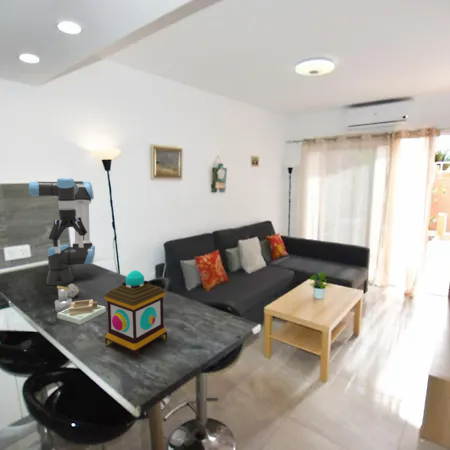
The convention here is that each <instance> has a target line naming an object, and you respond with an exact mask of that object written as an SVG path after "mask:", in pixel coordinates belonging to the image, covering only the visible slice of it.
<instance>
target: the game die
mask: <svg viewBox="0 0 450 450" xmlns="http://www.w3.org/2000/svg"><path fill="white" fill-rule="evenodd" d="M68 284H69V285H67V284H65V285H66V286H65V287H67V288H68V290H67V293H68V297H69V298H72V300H73V299H74V298H75V297H77V296H78V294H79V293H82V291H80V289H79V288H80V285H78V283H75V284H74V283H72V282H70V283H68Z"/></svg>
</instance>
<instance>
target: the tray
mask: <svg viewBox="0 0 450 450" xmlns="http://www.w3.org/2000/svg"><path fill="white" fill-rule="evenodd" d="M69 309H70V308H68V309H66V310H63V311H61V312H57V313H56V317H57V319H59V320H62V321H65V322H69V323H72V324H77V325H83V324H86V323H87V322H89V321H91V320H92V319H95V318H96V317H99V316H100V315H102V314H105V313H106V312H107V307H106V306H104V305H101V304H100V305H99V304H97V309H93V311H92V313H86V314H78V315H71V316H70V311H69Z"/></svg>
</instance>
